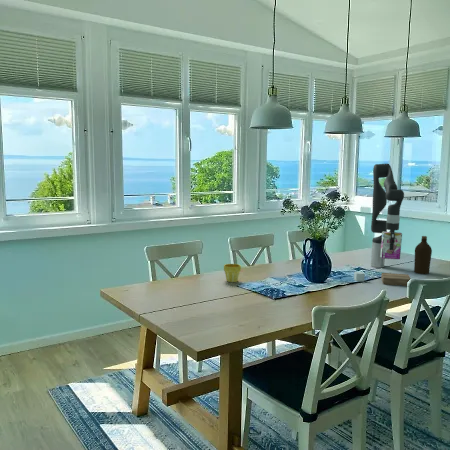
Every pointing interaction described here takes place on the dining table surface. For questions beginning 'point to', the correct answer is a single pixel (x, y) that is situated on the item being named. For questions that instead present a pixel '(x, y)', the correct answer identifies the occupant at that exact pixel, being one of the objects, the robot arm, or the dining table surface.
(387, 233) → the candy bar box
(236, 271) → the plant pot
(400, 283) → the walnut plinth
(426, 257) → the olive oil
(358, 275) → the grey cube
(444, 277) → the dining table surface
